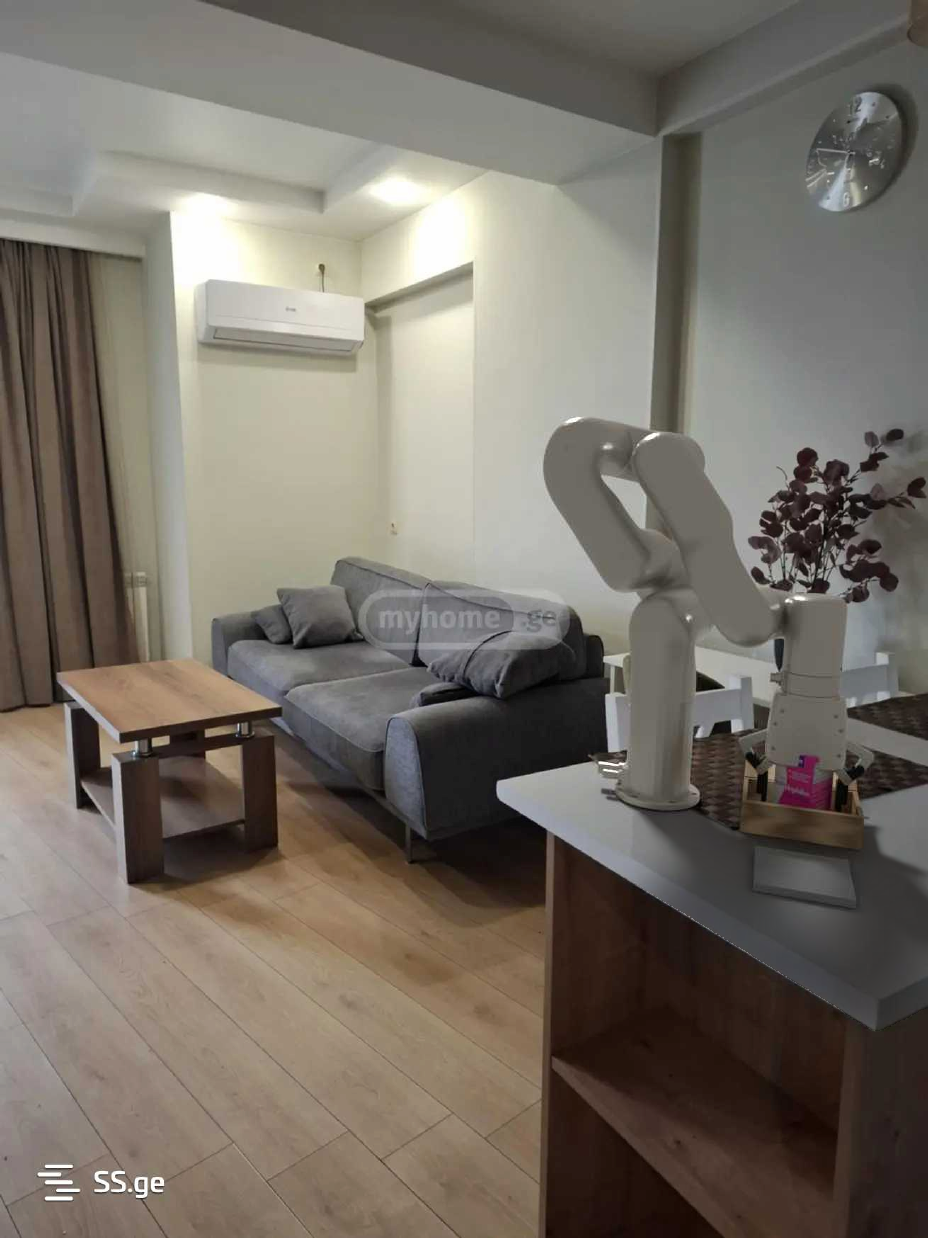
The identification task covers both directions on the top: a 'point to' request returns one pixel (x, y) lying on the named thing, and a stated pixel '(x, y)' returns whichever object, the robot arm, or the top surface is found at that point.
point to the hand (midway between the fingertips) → (799, 804)
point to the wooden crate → (801, 816)
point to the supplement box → (803, 785)
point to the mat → (803, 876)
